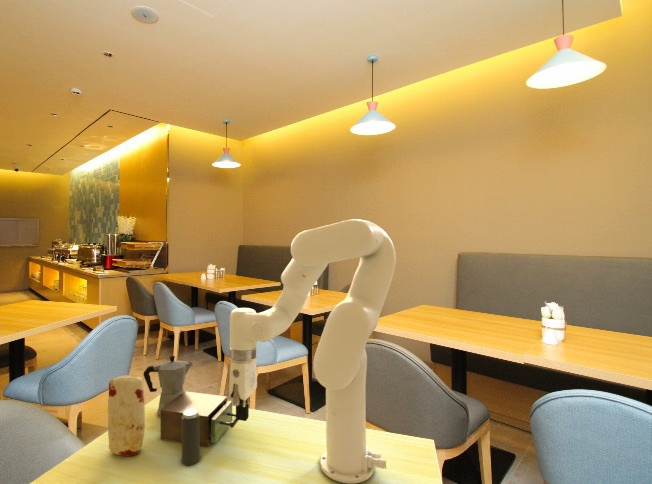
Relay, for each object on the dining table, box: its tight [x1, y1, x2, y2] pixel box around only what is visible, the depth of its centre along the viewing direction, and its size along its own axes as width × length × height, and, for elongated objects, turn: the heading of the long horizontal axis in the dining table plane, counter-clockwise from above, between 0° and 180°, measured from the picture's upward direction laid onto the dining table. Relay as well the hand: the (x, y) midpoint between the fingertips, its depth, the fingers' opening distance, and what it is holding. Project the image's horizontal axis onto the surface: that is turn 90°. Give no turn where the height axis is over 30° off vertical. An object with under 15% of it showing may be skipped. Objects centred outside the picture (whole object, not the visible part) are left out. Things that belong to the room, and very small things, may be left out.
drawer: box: [209, 400, 240, 444], centre depth 102 cm, size 18×11×6 cm, turn 74°
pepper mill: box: [181, 409, 201, 466], centre depth 89 cm, size 4×4×12 cm
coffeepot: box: [143, 355, 194, 416], centre depth 115 cm, size 15×9×18 cm, turn 114°
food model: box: [107, 374, 146, 457], centre depth 93 cm, size 10×7×20 cm
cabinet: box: [159, 390, 228, 448], centre depth 103 cm, size 15×13×8 cm
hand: (242, 418), depth 99 cm, fingers closed
